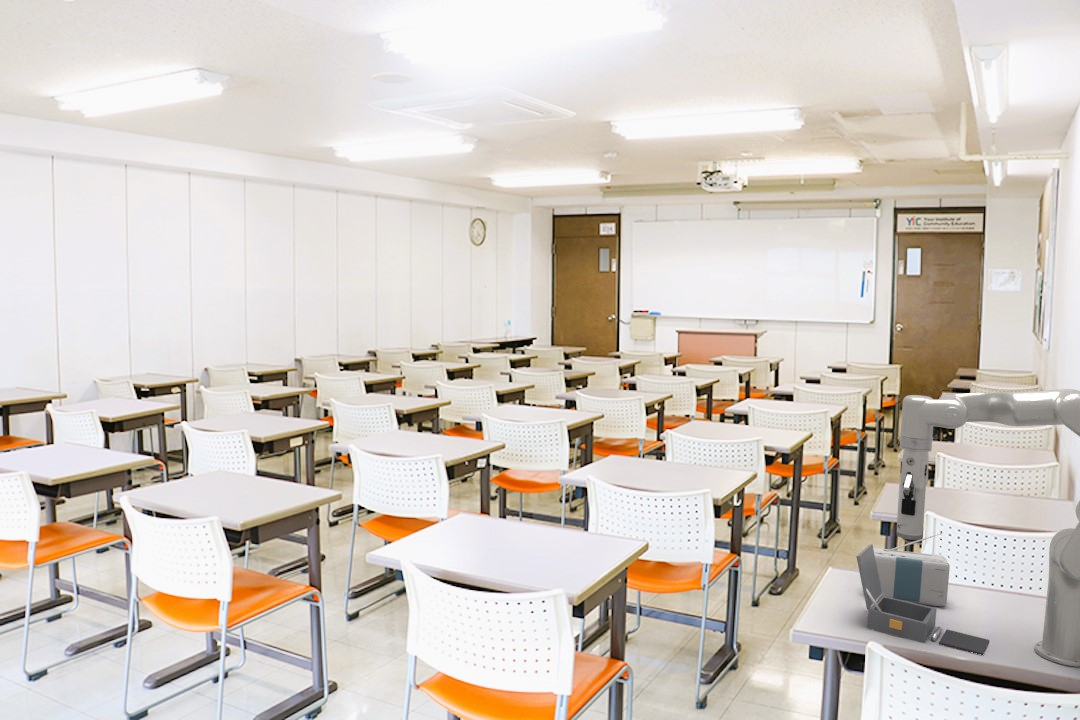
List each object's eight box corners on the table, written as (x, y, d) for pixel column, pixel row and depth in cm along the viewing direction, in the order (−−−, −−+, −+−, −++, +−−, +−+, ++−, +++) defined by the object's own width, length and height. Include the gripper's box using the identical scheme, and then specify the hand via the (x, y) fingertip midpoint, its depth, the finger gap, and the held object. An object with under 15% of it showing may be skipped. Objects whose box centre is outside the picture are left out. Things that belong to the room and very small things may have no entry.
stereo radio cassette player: (866, 599, 242) (871, 531, 240) (864, 589, 249) (869, 523, 247) (946, 610, 236) (952, 540, 234) (941, 599, 243) (947, 531, 241)
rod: (942, 631, 221) (942, 626, 221) (935, 642, 214) (936, 637, 214) (937, 629, 221) (937, 625, 221) (930, 640, 214) (930, 636, 214)
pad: (989, 642, 215) (989, 639, 215) (983, 655, 207) (983, 653, 207) (946, 631, 221) (946, 629, 220) (938, 644, 212) (938, 642, 212)
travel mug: (895, 538, 218) (899, 462, 216) (897, 531, 224) (901, 457, 222) (921, 542, 215) (926, 464, 213) (923, 535, 221) (928, 460, 219)
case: (935, 626, 224) (940, 558, 222) (924, 643, 212) (929, 571, 211) (864, 609, 234) (869, 543, 232) (850, 624, 223) (855, 556, 221)
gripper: (924, 450, 208) (919, 521, 210) (938, 440, 222) (933, 507, 224) (892, 446, 213) (887, 516, 214) (907, 437, 227) (903, 502, 228)
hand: (911, 511), depth 219 cm, fingers closed on travel mug, 6 cm apart
